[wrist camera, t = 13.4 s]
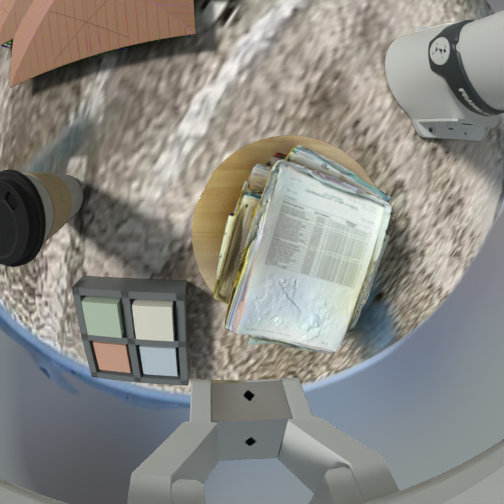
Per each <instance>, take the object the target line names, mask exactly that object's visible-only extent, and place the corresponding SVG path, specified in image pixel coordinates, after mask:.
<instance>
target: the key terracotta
mask: <svg viewBox="0 0 504 504" xmlns="http://www.w3.org/2000/svg"><path fill="white" fill-rule="evenodd" d="M93 345H94V349H95V354H96V358H97V362H98V366H99V370H107V371H116V372H126V373H131V370H132V364H131V358H130V353H129V347H128V344H120V343H110V342H100V341H93Z"/></svg>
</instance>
